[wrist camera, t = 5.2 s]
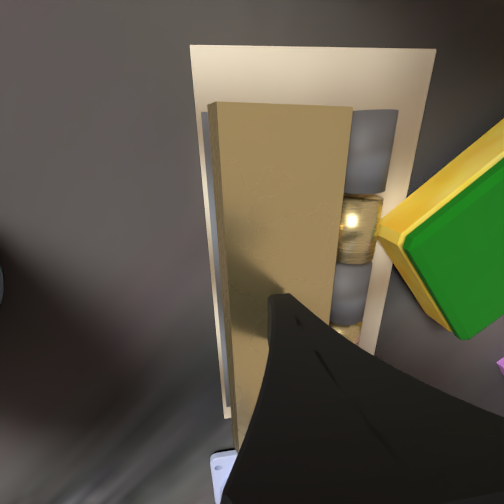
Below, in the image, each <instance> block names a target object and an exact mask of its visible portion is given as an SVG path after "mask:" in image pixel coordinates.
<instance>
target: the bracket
mask: <svg viewBox="0 0 504 504" xmlns="http://www.w3.org/2000/svg"><path fill="white" fill-rule="evenodd" d="M496 363H497V365H498V366H499V368H500V370H501V372H502V374H503V375H504V358H502V359H501V360H499V361H497V362H496Z"/></svg>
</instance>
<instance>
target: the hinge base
mask: <svg viewBox="0 0 504 504" xmlns="http://www.w3.org/2000/svg"><path fill="white" fill-rule="evenodd" d="M436 50H437V49H407V48H346V47H285V46H223V45H190V54H191V64H192V75H193V86H194V97H195V107H196V118H197V129H198V140H199V150H200V161H201V172H202V183H203V194H204V204H205V215H206V226H207V237H208V247H209V258H210V269H211V280H212V291H213V301H214V312H215V323H216V334H217V344H218V355H219V366H220V377H221V388H222V398H223V409H224V419H226V418H231V406H230V393H229V380H228V367H227V354H226V341H225V328H224V316H223V303H222V290H221V277H220V264H219V251H218V238H217V225H216V212H215V199H214V186H213V173H212V160H211V147H210V135H209V122H208V109H207V105H208V104H211V103H213V102H216V101H220V102H246V103H272V104H297V105H323V106H349V107H353V114H352V123H351V131H350V140H349V149H348V158H347V167H346V176H345V185H344V193H348V194H375V195H379V196H381V197H383V198H384V200H383V206H382V212H381V218H380V220H381V219H382V218H383V217H384V216H385V215H387V214H388V213H389V212H390V211H392V210H393V209H394V208H395V207H396V206H398V205H399V204H400V203H401V202H402V201H404V200H405V199H406V196H407V191H408V186H409V181H410V176H411V172H412V167H413V162H414V157H415V152H416V147H417V142H418V137H419V133H420V128H421V123H422V118H423V113H424V108H425V103H426V98H427V93H428V89H429V84H430V79H431V74H432V69H433V64H434V59H435V54H436ZM392 264H393V262H392V260H391V259H390V257H389V256H388V254H387V252H386V251H385V249H384V248H383V246H382V245H381V243H380V242H379V240H378V238H377V241H376V247H375V253H374V258H373V260H372V261H370V262H368V263H365V264H345V263H340V262H336V265H335V274H334V283H333V292H332V301H331V310H330V319H329V321H330V322H332V323H335V324H339V325H354V324H357V323H359V322H360V321H362V320H363V322H362V328H361V334H360V340H359V347H360V348H362V349H363V350H365V351H367V352H368V353H370V354H372V355H373V356H374V352H375V347H376V342H377V337H378V333H379V328H380V323H381V318H382V313H383V308H384V303H385V298H386V294H387V289H388V284H389V279H390V274H391V269H392Z"/></svg>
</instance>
